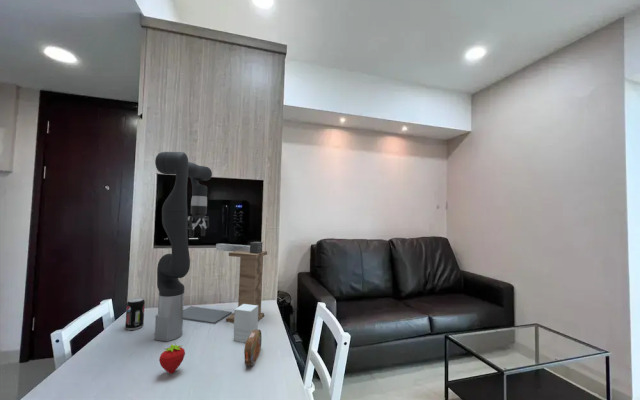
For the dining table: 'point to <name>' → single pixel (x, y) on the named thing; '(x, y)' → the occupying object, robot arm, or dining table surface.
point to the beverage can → (135, 313)
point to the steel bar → (241, 247)
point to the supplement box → (245, 321)
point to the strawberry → (172, 358)
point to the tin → (252, 347)
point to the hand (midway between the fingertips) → (197, 236)
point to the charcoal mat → (204, 314)
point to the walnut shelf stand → (249, 280)
